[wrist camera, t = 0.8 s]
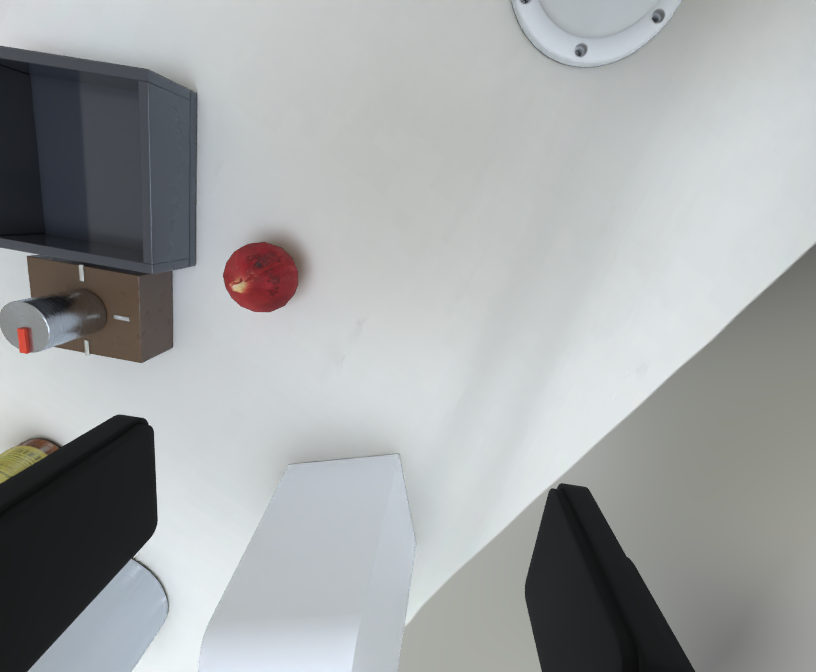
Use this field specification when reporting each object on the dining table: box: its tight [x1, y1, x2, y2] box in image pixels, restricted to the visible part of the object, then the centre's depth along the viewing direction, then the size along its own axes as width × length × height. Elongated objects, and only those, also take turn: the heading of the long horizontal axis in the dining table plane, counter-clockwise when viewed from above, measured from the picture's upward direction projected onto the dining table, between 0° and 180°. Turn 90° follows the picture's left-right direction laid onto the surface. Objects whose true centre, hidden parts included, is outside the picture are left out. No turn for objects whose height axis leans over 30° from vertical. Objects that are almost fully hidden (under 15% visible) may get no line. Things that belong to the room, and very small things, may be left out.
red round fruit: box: [223, 242, 298, 312], centre depth 35 cm, size 6×6×8 cm
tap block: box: [27, 255, 173, 363], centre depth 38 cm, size 8×10×5 cm
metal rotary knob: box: [0, 289, 106, 354], centre depth 33 cm, size 4×4×6 cm
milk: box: [198, 454, 416, 672], centre depth 33 cm, size 12×12×26 cm
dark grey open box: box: [0, 46, 197, 274], centre depth 34 cm, size 15×15×6 cm
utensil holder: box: [28, 559, 168, 672], centre depth 44 cm, size 15×15×18 cm
